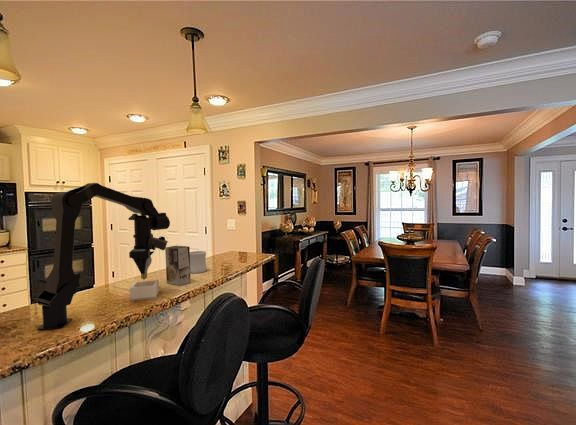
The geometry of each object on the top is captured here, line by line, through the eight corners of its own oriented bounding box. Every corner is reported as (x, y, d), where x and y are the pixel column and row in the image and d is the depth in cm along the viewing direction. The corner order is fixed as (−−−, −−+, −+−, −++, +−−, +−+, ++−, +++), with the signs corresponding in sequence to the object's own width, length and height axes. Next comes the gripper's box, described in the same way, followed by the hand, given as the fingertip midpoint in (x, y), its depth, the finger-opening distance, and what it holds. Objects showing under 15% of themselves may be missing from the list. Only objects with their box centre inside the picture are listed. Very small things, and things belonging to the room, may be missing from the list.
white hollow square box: (156, 298, 112) (155, 285, 112) (130, 301, 110) (129, 288, 109) (159, 291, 120) (158, 279, 120) (135, 293, 118) (134, 281, 118)
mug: (202, 268, 160) (201, 250, 160) (209, 271, 153) (209, 252, 153) (179, 272, 152) (178, 253, 152) (185, 275, 145) (185, 255, 145)
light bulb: (145, 281, 111) (145, 254, 111) (132, 280, 112) (132, 254, 112) (155, 277, 116) (154, 252, 117) (142, 277, 118) (142, 252, 118)
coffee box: (191, 282, 134) (190, 246, 133) (179, 286, 128) (178, 248, 128) (178, 279, 139) (177, 244, 138) (165, 283, 133) (164, 246, 132)
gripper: (162, 233, 107) (163, 276, 108) (168, 228, 125) (169, 265, 126) (128, 234, 104) (129, 279, 105) (138, 229, 122) (140, 267, 123)
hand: (144, 272), depth 115 cm, fingers closed on light bulb, 5 cm apart
